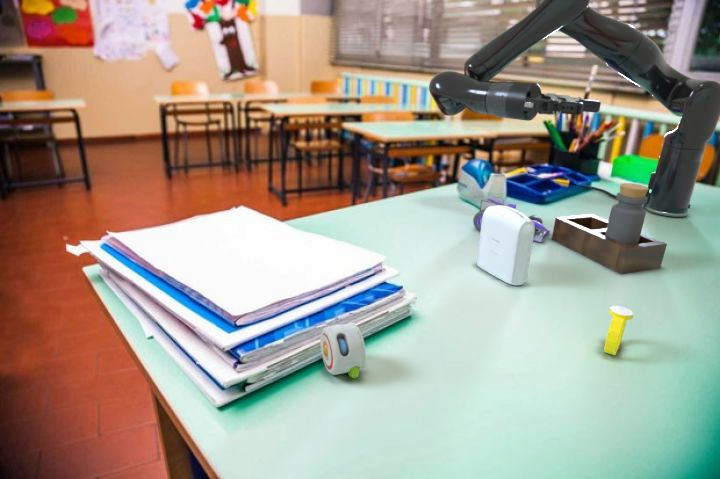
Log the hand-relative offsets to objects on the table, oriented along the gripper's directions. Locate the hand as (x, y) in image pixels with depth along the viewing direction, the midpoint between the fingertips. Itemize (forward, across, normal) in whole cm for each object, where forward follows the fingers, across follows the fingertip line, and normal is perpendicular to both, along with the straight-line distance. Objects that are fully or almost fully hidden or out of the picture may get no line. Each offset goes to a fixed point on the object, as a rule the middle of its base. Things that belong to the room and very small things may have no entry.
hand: (591, 108), depth 93 cm
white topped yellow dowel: (+21, -34, +28) cm, 49 cm away
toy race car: (-12, -1, +28) cm, 31 cm away
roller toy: (0, -64, +28) cm, 70 cm away
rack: (+7, +2, +28) cm, 29 cm away
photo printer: (-2, -24, +28) cm, 37 cm away
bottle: (+11, 0, +28) cm, 30 cm away
